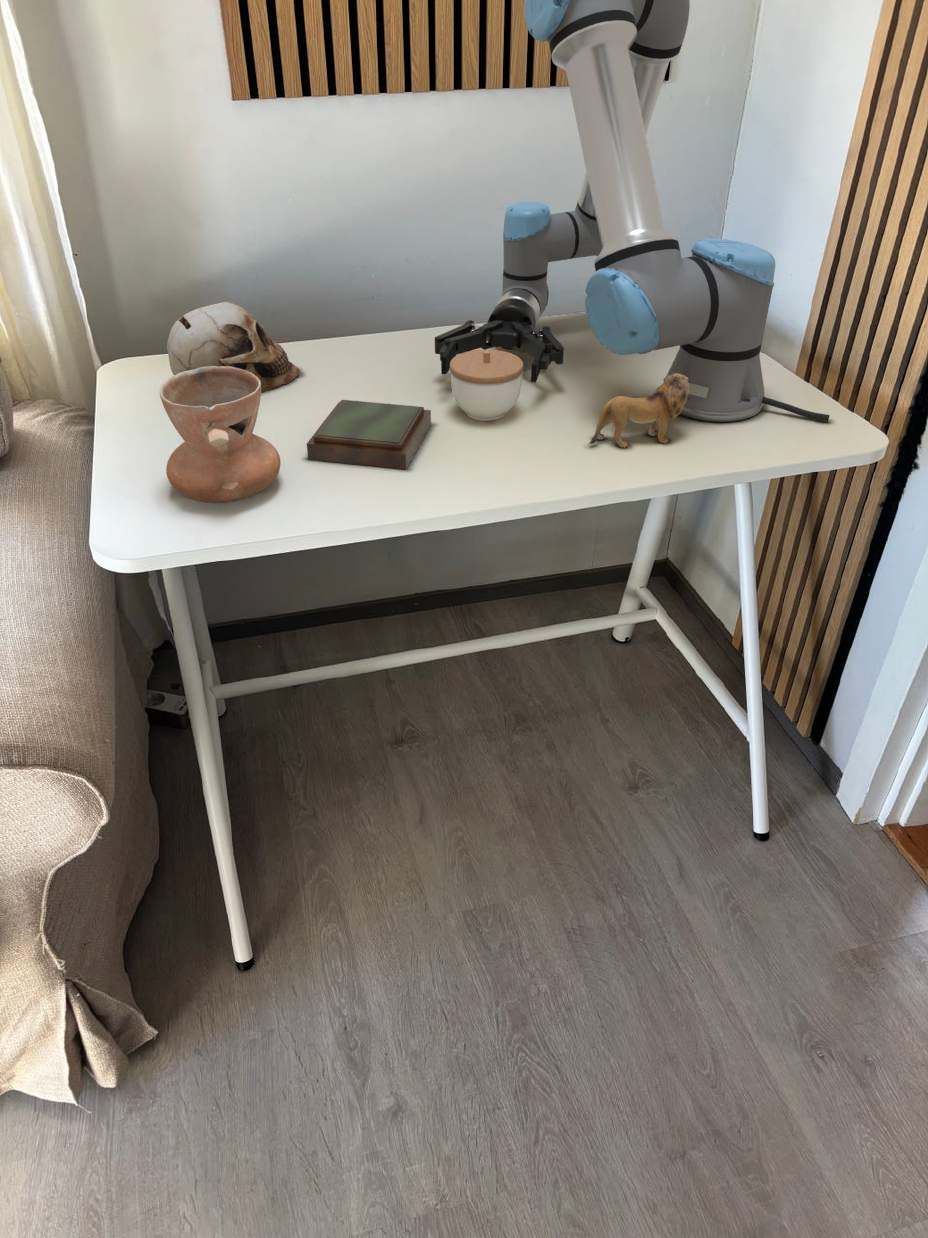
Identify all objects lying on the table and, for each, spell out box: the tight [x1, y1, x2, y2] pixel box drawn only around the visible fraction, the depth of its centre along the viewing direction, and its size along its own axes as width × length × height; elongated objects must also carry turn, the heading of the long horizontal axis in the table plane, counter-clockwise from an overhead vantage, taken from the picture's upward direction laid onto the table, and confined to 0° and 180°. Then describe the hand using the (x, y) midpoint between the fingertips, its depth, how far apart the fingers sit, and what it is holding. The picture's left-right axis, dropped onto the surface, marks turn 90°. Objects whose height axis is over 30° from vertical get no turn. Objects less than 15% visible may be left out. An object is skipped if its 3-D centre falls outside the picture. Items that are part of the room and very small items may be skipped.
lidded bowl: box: [449, 349, 524, 422], centre depth 142 cm, size 11×11×9 cm
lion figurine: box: [588, 373, 690, 448], centre depth 134 cm, size 15×5×9 cm, turn 110°
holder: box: [306, 399, 432, 470], centre depth 136 cm, size 14×14×3 cm
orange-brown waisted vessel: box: [159, 366, 282, 504], centre depth 123 cm, size 18×14×14 cm
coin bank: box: [166, 301, 301, 392], centre depth 150 cm, size 16×17×13 cm
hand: (488, 369), depth 143 cm, fingers open, 13 cm apart
